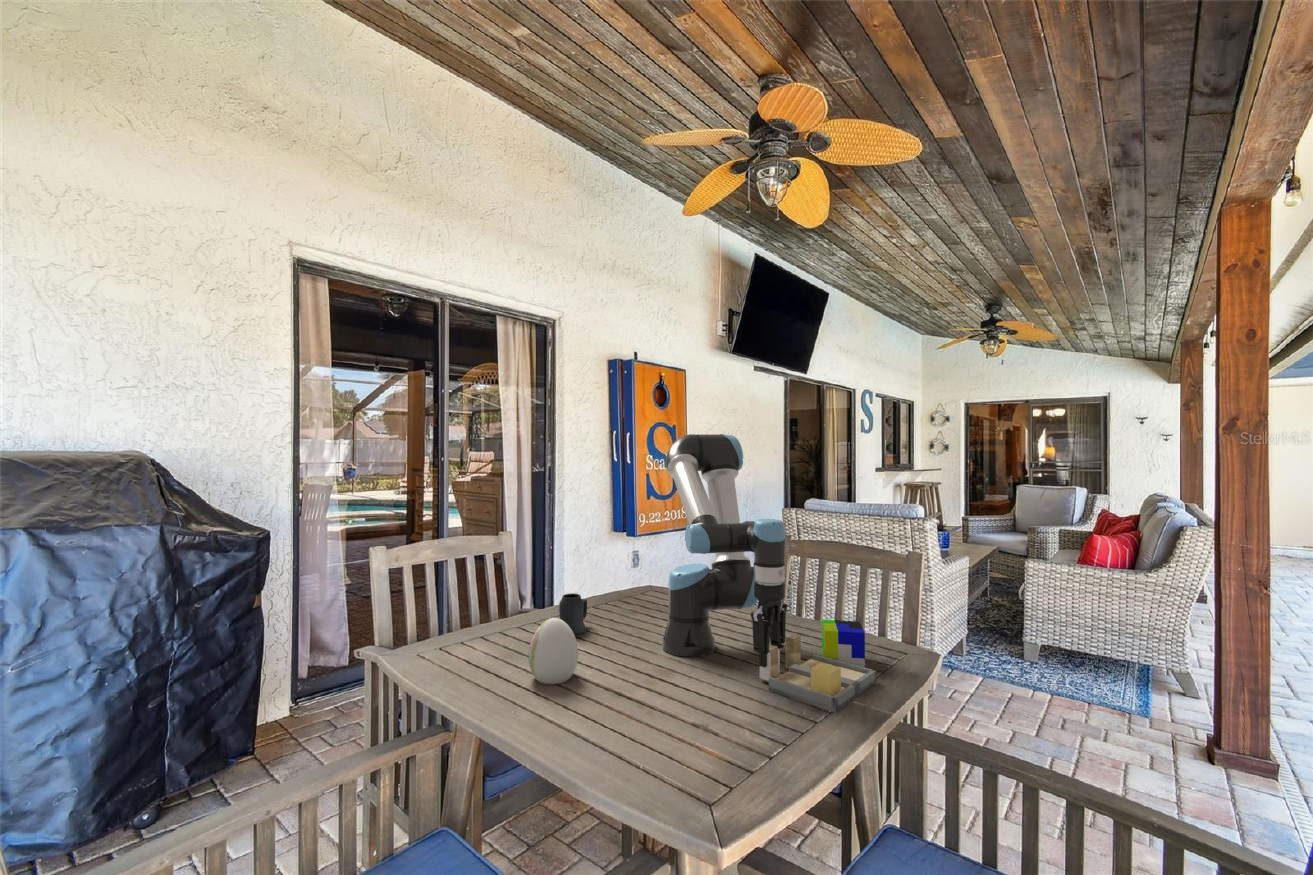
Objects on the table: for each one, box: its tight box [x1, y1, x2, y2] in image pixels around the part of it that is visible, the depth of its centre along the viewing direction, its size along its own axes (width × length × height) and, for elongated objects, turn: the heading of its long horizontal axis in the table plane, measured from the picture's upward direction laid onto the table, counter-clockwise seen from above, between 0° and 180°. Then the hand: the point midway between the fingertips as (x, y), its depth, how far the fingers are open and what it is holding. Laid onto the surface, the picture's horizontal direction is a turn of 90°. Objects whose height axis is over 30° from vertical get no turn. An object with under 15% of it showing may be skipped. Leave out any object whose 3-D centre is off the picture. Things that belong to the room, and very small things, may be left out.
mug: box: [558, 592, 588, 637], centre depth 187 cm, size 12×9×11 cm
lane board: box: [768, 653, 877, 713], centre depth 143 cm, size 17×22×3 cm
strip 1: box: [784, 633, 832, 669], centre depth 152 cm, size 10×8×8 cm
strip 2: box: [761, 643, 845, 696], centre depth 141 cm, size 19×8×8 cm, turn 47°
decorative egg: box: [528, 617, 579, 685], centre depth 148 cm, size 12×12×15 cm
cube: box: [811, 662, 841, 695], centre depth 136 cm, size 5×5×5 cm
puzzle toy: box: [821, 619, 866, 668], centre depth 159 cm, size 10×10×10 cm
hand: (769, 676), depth 147 cm, fingers closed on strip 2, 3 cm apart
